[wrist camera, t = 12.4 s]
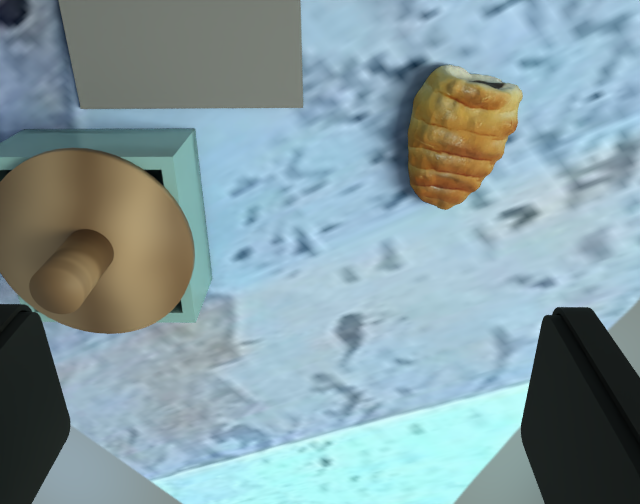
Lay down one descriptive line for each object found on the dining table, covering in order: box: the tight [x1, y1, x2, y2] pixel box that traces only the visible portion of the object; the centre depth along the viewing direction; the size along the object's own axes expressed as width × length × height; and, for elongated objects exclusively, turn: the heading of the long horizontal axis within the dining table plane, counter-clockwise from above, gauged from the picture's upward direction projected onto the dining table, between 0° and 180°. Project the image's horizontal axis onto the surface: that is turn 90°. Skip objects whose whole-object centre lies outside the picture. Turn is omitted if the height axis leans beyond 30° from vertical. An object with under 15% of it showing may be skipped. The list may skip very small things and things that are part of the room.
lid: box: [0, 148, 195, 334], centre depth 35 cm, size 13×13×6 cm
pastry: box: [408, 65, 523, 210], centre depth 38 cm, size 9×7×4 cm
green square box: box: [0, 129, 212, 323], centre depth 40 cm, size 12×12×6 cm
